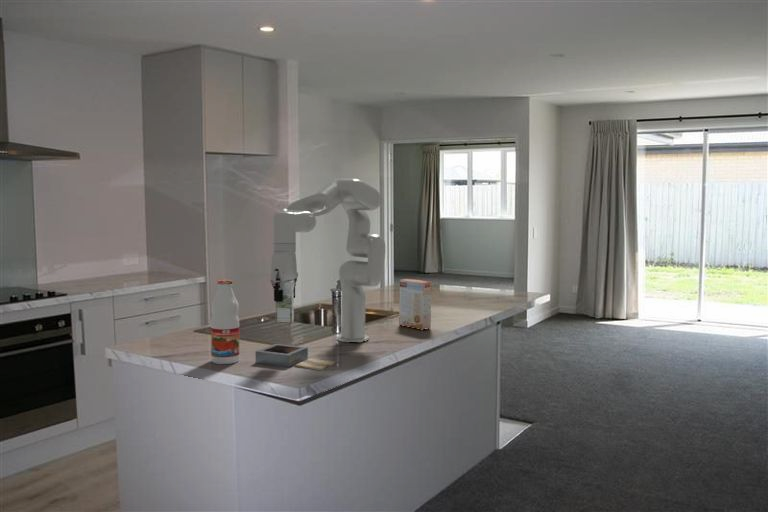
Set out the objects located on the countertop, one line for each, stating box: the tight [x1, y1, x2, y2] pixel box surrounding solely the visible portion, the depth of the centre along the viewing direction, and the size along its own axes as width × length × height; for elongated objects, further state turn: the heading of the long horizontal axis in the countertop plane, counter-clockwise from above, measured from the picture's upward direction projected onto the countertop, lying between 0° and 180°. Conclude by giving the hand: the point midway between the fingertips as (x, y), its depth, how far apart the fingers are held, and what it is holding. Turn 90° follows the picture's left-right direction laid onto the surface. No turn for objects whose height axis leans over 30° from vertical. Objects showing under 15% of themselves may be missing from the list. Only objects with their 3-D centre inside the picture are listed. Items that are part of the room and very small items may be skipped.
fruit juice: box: [210, 279, 240, 365], centre depth 224 cm, size 9×9×28 cm
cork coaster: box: [294, 358, 336, 371], centre depth 223 cm, size 10×10×1 cm
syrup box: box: [275, 280, 295, 324], centre depth 225 cm, size 6×6×14 cm
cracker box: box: [398, 278, 433, 329], centre depth 287 cm, size 14×6×21 cm, turn 44°
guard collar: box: [255, 343, 309, 368], centre depth 227 cm, size 13×13×4 cm
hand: (284, 299), depth 225 cm, fingers closed on syrup box, 7 cm apart
